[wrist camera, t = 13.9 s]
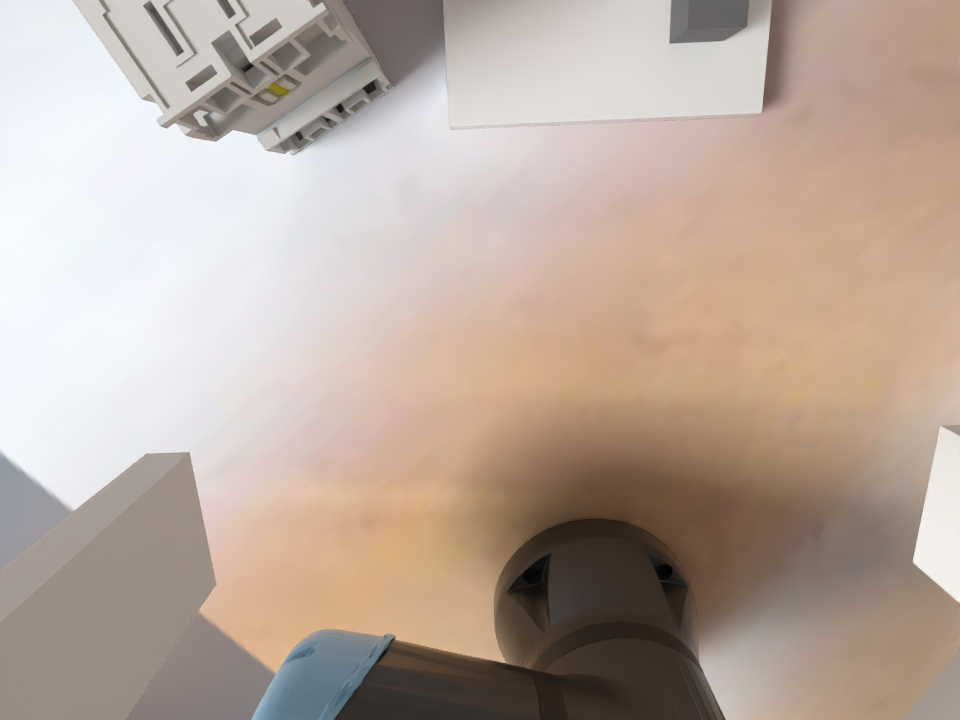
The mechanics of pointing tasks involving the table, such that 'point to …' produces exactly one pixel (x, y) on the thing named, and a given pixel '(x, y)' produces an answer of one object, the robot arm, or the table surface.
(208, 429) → the table surface
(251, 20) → the circuit breaker
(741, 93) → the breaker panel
